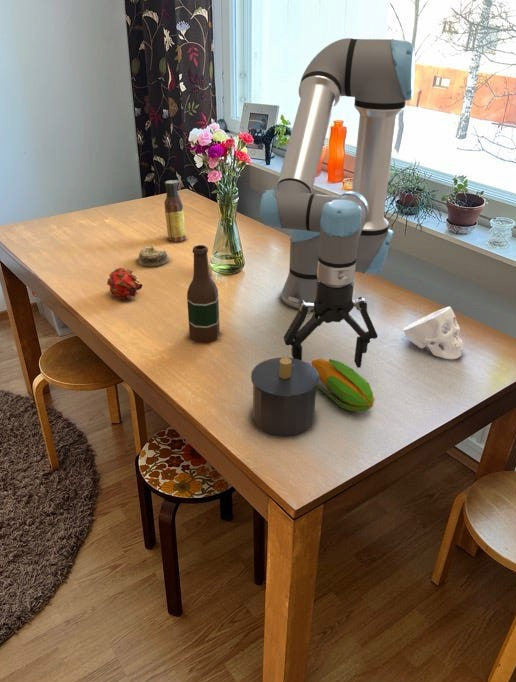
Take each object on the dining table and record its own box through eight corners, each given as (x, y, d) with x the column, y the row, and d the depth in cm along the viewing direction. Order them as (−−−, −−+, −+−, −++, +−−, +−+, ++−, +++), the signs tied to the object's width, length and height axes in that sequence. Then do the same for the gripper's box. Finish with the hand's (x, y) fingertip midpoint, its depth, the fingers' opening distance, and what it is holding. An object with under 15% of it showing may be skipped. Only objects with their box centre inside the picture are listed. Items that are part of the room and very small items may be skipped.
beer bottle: (225, 333, 152) (223, 244, 138) (208, 346, 147) (204, 256, 133) (201, 325, 155) (196, 238, 142) (183, 338, 150) (176, 249, 136)
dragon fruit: (117, 291, 175) (137, 311, 169) (94, 283, 168) (114, 303, 162) (131, 267, 173) (152, 286, 167) (108, 257, 166) (130, 277, 160)
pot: (249, 401, 128) (249, 363, 122) (306, 397, 129) (308, 359, 124) (258, 439, 118) (258, 399, 112) (319, 433, 119) (322, 393, 113)
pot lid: (247, 364, 123) (246, 345, 120) (310, 359, 124) (311, 340, 122) (256, 403, 112) (256, 383, 109) (325, 397, 113) (327, 377, 111)
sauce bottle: (189, 238, 206) (185, 180, 195) (178, 244, 202) (174, 185, 190) (175, 234, 209) (170, 177, 198) (163, 240, 205) (158, 182, 193)
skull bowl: (456, 364, 138) (439, 315, 135) (408, 370, 149) (392, 326, 147) (478, 347, 144) (462, 300, 142) (431, 355, 155) (415, 312, 153)
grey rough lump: (156, 271, 185) (153, 255, 181) (132, 264, 189) (128, 249, 186) (175, 258, 191) (173, 242, 188) (151, 252, 195) (149, 237, 192)
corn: (359, 394, 117) (300, 349, 131) (353, 424, 121) (296, 378, 135) (386, 384, 121) (326, 342, 134) (379, 414, 125) (322, 370, 139)
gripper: (277, 292, 114) (275, 381, 127) (401, 284, 117) (387, 371, 129) (271, 275, 120) (270, 362, 133) (388, 268, 123) (376, 353, 135)
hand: (327, 367), depth 131 cm, fingers open, 13 cm apart
